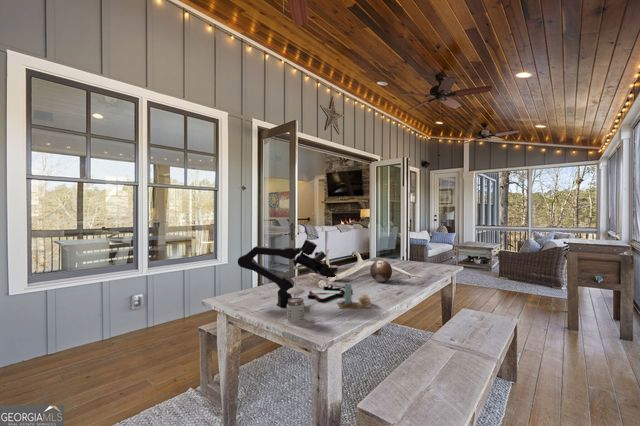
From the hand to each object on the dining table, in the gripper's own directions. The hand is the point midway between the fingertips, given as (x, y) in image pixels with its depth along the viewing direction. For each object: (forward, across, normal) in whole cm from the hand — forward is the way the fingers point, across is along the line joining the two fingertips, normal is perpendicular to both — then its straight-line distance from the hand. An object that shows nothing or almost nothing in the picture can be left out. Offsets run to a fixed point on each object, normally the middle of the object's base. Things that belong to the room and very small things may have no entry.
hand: (332, 275), depth 164 cm
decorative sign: (+9, +15, +11) cm, 21 cm away
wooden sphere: (+48, +38, -14) cm, 63 cm away
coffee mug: (+20, +51, 0) cm, 55 cm away
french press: (-12, -17, +27) cm, 34 cm away
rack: (+15, -8, +10) cm, 20 cm away
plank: (+12, -8, +10) cm, 18 cm away
